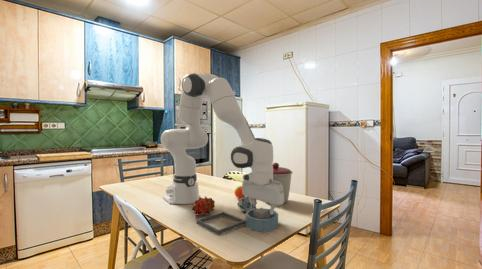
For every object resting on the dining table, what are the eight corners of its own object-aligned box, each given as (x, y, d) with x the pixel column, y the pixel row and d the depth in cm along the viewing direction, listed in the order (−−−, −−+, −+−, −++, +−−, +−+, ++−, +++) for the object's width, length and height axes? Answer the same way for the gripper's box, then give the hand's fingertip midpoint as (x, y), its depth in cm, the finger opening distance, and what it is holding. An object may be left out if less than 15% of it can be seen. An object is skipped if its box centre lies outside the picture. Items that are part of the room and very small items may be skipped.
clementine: (239, 201, 130) (239, 188, 130) (230, 198, 135) (230, 186, 135) (249, 198, 136) (249, 185, 136) (240, 195, 141) (240, 183, 141)
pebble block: (253, 222, 100) (253, 210, 100) (261, 219, 104) (261, 207, 103) (262, 226, 96) (262, 213, 96) (270, 222, 100) (270, 210, 100)
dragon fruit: (217, 215, 115) (193, 224, 108) (209, 201, 120) (186, 209, 113) (220, 204, 110) (196, 213, 103) (212, 190, 115) (188, 198, 108)
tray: (196, 223, 101) (196, 219, 100) (223, 214, 110) (223, 211, 110) (218, 235, 90) (218, 230, 90) (245, 224, 100) (245, 220, 100)
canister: (275, 195, 143) (275, 159, 142) (299, 203, 128) (300, 163, 128) (251, 200, 132) (251, 162, 131) (275, 209, 118) (275, 166, 117)
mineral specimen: (243, 222, 115) (257, 211, 122) (250, 215, 110) (264, 204, 116) (231, 205, 118) (244, 196, 125) (237, 198, 113) (251, 188, 119)
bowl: (239, 224, 100) (239, 213, 100) (260, 216, 109) (260, 206, 109) (263, 234, 91) (263, 222, 91) (284, 224, 100) (284, 214, 100)
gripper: (287, 181, 94) (287, 215, 95) (249, 173, 109) (249, 203, 109) (277, 183, 90) (277, 220, 90) (239, 174, 105) (239, 206, 105)
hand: (261, 210), depth 100 cm, fingers open, 8 cm apart
